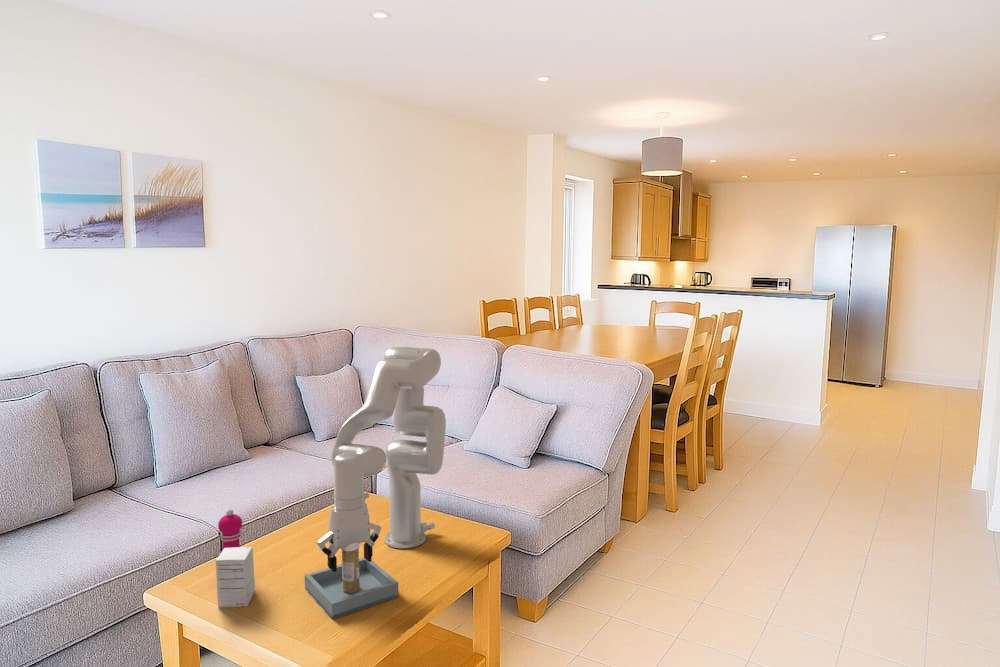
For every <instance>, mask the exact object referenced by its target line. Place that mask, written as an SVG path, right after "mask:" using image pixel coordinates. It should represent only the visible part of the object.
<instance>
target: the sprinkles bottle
mask: <svg viewBox="0 0 1000 667" xmlns="http://www.w3.org/2000/svg"><path fill="white" fill-rule="evenodd" d="M340 549H341V564H342V578H343V591H344V592H346V593H354V592H356V591H358V590H359V589H360V584H359V559H360V558H359V556H360V555H359V554H360V553H359V550H360V543H353V544H350V545H349V546H347V547H345V548H340Z"/></svg>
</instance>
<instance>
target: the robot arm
mask: <svg viewBox="0 0 1000 667" xmlns="http://www.w3.org/2000/svg"><path fill="white" fill-rule="evenodd" d="M441 359H442V358H441V356H440V353H439V351H438V350H436V349H433V348H426V347H411V346H409V347H408V346H395V347H390V348H388V349H387V350H386V351H385V353H384V359H382V360H379V361H378V362H377V363H376V366H375V367H374V370H373V373H372V376H371V380H370V384H369V386H368V390H367V392H366V396H365V399H364V402H363V405H362V406H361V408H359V409H358V410H356V412H354V413H353V414H352V415H351V416H350V417H349V418H348V419H346V421H345V422H344V423H343V424H342V425H341V427H340V428H339V430H338V432H337V435H336V438H335V441H334V444H333V447H332V448H333V449H332V450H331V451H332V452H331V459H330V460H331V464H332V467H333V489H334V490H333V497H334V498H333V500H334V504H333V505H334V506H331V508H330V514H329V518H328V519H329V520H328V527H327V528H328V529H327V530H328V532H327V533H326V534H325V535H324V536H322V537H321V538H320V539H319V540H317V542H316V545H317V546H318V548H319V549H320V551H322V553H324V554H325V555H326V556H327V567H328V568H330V569H331V570H332V571H333V572H336V571H337V562H338V560H337V556H336V554H337V552H339V549H341V548H345V547H347V546H349V545H350V544H353V543H359V544H362V543H364V544H363V558H365V559H366V560H367V561H368V562H371V561H373V560H372V557H373V547H374V546H375V542H376V541H377V540H378V539H379V535H380V533H381V531H382V527H381V525H379V524H375V523H371V520H370V514H369V508H368V505H367V503H366V499H369V498H370V494H369V493H368V492H365V478H368V477H371V476H374V475H377V474H379V473H380V472H381V471H382V470H383V469H384V467H385V465H386V468H387V471H388V472H387V473H388V490H389V491H388V492H389V493H388V496H389V497H388V499H389V505H388V506H389V507H388V508H389V509H388V510H389V511H388V512H389V532H388V533H386V534H385V536H384V543H385V544H386V545H387V546H389V547H390V548H391V547H392V548H394V549H403V550H404V549H412V548H417V547H418V546H421V545H422V544H424V543H425V542H426V539H427V535H426V532H427V531H429V530H433V529H435V528H436V526H435V523H434V522H428V523H427V522H426V521H423V522H422V520H421V519H422V516H421V514H422V512H421V511H422V510H421V507H422V506H421V505H422V503H421V502H422V500H421V499H422V497H421V491H422V490H421V489H422V488H421V487H422V486H421V482H420V479H419V477H418V475H417V474H420V475H431V476H432V475H437V474H438V473H439V472H441V469H442V467H443V462H444V454H445V452H444V451H445V442H446V440H445V439H446V429H447V428H446V427H447V426H446V425H447V418H446V414H445V413H444V410H443V409H442V408H440V407H438V406H434V405H424V404H425V403H424V400H425V399H424V397H425V388H424V386H425V387H426V385H427V384H428V383H429V382H430V381H432V380H433V379H434V378H435V377H436V376H437V375H438V373H439V371H440V369H441V364H442V362H441V361H442V360H441ZM393 415H394V416H393ZM392 416H393V428H394V431H395V432H396V433H397V434H399V435H401V436H408V437H416V438H417V437H418V438H420V437H421V438H425V439H426V441H419V440H418V441H417V440H410V439H397V440H393V441H391V442H390V443H388V446H386V449H385V451H384V450H383V449H382V448H381V447H379V446H375V445H366V444H358V443H353V442H354V440H355V438H356V437H357V435H358V434H359V433H360V432H361V431H363V430H365V429H367V428H369V427H370V426H374V425H375V424H378V423H380V422H383V421H386V420H388V419H390V418H391V417H392ZM371 530H373V532H372V533H371ZM326 543H329V544H330V545H329V546H328V547H326Z"/></svg>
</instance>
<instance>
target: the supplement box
mask: <svg viewBox="0 0 1000 667" xmlns="http://www.w3.org/2000/svg"><path fill="white" fill-rule="evenodd" d="M222 549H223V548H222ZM254 566H255V565H254V547H253V546H240V547H232V548H224V549H223V551H222V550H221V552H220V553H219V555H218V557H217V558H216V559H215V571H216V572H215V573H216V574H215V576H216V594H217V607H218V608H238V607H239V608H241V606H244V607H248V606H249V604H250V602H251V600H252V598H253V596H254V594H255V592H256V590H255V588H256V587H255V569H254Z"/></svg>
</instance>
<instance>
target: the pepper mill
mask: <svg viewBox="0 0 1000 667" xmlns="http://www.w3.org/2000/svg"><path fill="white" fill-rule="evenodd" d="M225 513H226V514H224V515H223V516H221V518H220V519H219V521H218V524H217V528H218V531H219V532H220V540H221V541H222V550H221V552H222V551H223V549H224V548H232V547H241V545H240V538H241V537H242V533H241V529H242V527H243V520H242V517H241V516H240V515H239V514H235V513H234V510H233V509H231V508H230V509H227V510H226V512H225Z"/></svg>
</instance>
